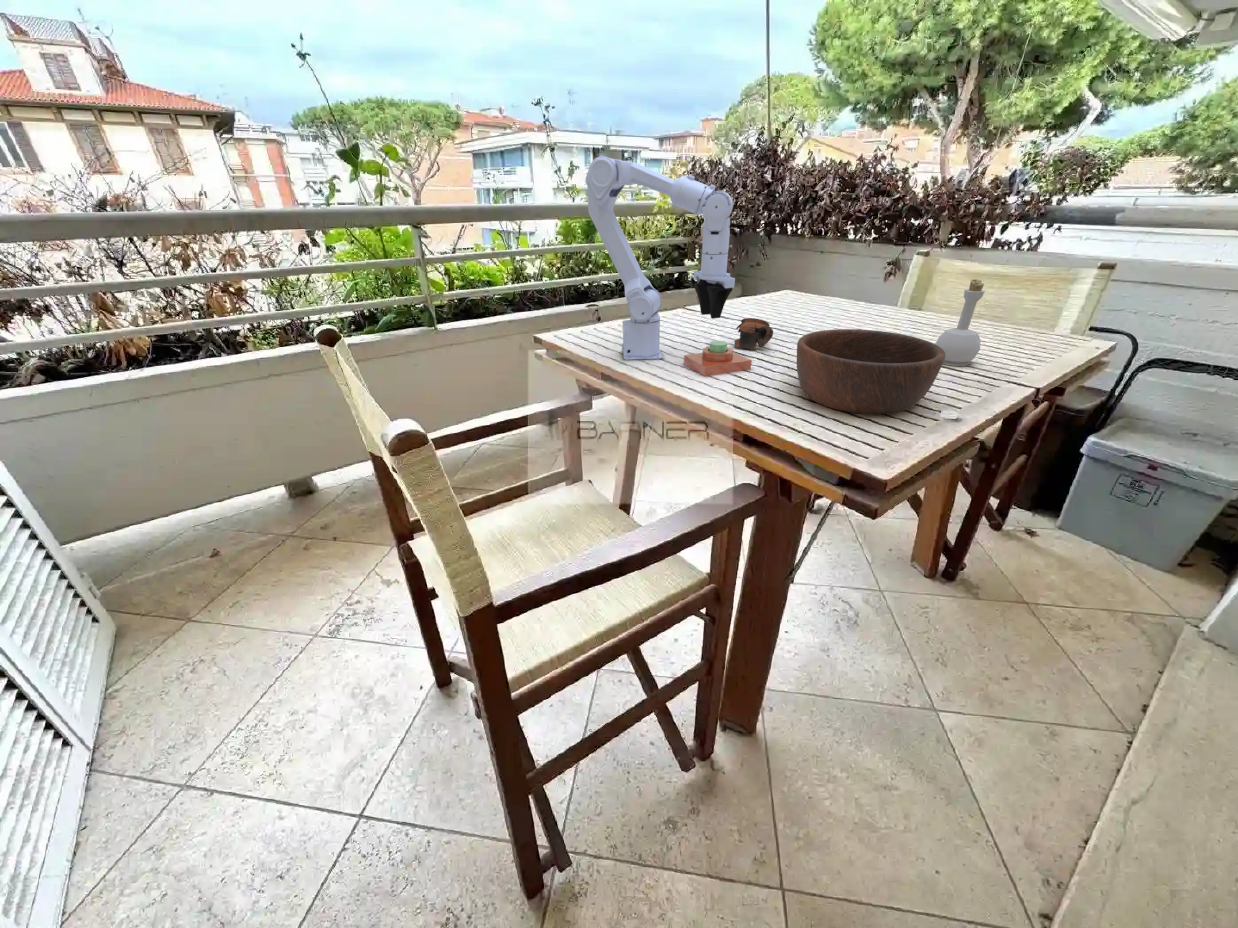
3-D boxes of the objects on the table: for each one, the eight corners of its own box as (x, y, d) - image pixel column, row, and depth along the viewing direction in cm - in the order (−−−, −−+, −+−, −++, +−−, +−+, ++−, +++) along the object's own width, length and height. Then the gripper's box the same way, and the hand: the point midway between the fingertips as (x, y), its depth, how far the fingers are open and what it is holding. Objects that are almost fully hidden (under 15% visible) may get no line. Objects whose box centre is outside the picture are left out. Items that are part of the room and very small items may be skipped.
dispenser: (704, 376, 107) (706, 359, 105) (683, 364, 115) (684, 347, 113) (750, 369, 111) (752, 352, 109) (726, 358, 119) (728, 341, 117)
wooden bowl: (951, 398, 93) (969, 345, 88) (891, 435, 80) (907, 375, 75) (831, 368, 110) (840, 322, 105) (764, 394, 97) (771, 343, 92)
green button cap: (714, 355, 109) (715, 346, 108) (705, 350, 112) (706, 341, 111) (729, 352, 110) (730, 344, 109) (720, 348, 114) (721, 339, 113)
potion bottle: (961, 356, 116) (987, 277, 107) (982, 367, 108) (1012, 283, 100) (923, 356, 117) (946, 277, 108) (940, 367, 109) (967, 283, 101)
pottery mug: (723, 347, 129) (731, 317, 128) (747, 358, 134) (755, 329, 133) (757, 345, 118) (766, 312, 118) (782, 357, 124) (790, 326, 123)
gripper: (749, 255, 102) (742, 320, 108) (713, 249, 114) (709, 308, 120) (720, 257, 100) (715, 323, 106) (687, 251, 112) (684, 311, 118)
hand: (710, 316), depth 113 cm, fingers open, 4 cm apart
